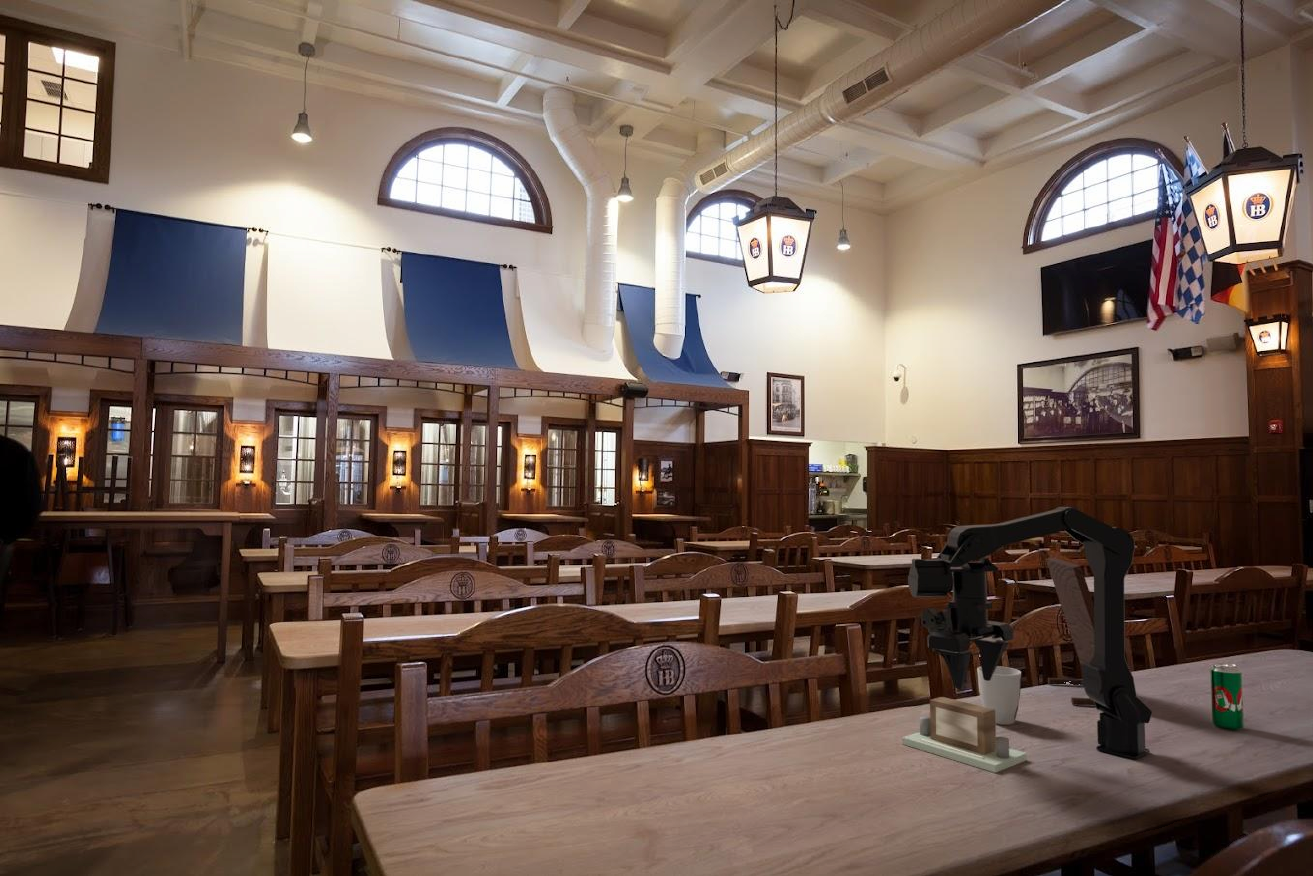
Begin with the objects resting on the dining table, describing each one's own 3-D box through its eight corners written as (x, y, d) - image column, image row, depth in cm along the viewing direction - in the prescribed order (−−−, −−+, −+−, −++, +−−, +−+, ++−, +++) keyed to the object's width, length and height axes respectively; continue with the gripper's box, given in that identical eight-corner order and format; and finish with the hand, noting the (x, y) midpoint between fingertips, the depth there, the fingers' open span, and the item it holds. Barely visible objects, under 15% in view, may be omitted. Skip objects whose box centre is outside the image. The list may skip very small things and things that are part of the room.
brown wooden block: (996, 750, 137) (995, 709, 137) (984, 755, 135) (983, 713, 135) (942, 735, 145) (941, 696, 146) (930, 739, 143) (929, 700, 143)
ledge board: (1026, 760, 136) (1026, 735, 136) (995, 772, 130) (994, 746, 130) (934, 733, 150) (934, 711, 150) (902, 744, 144) (901, 720, 144)
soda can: (1233, 724, 157) (1231, 662, 158) (1250, 731, 152) (1247, 668, 153) (1206, 723, 157) (1204, 662, 158) (1222, 731, 152) (1219, 667, 153)
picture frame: (1128, 709, 167) (1123, 566, 169) (1074, 706, 169) (1070, 565, 171) (1094, 685, 187) (1090, 558, 189) (1046, 683, 189) (1043, 557, 191)
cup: (1029, 727, 154) (1028, 675, 155) (987, 727, 155) (986, 675, 155) (1011, 715, 162) (1010, 666, 163) (972, 715, 163) (971, 665, 163)
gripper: (958, 587, 154) (961, 668, 153) (900, 596, 143) (903, 684, 142) (1013, 593, 145) (1016, 679, 145) (956, 603, 134) (959, 697, 133)
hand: (973, 684), depth 141 cm, fingers open, 9 cm apart
